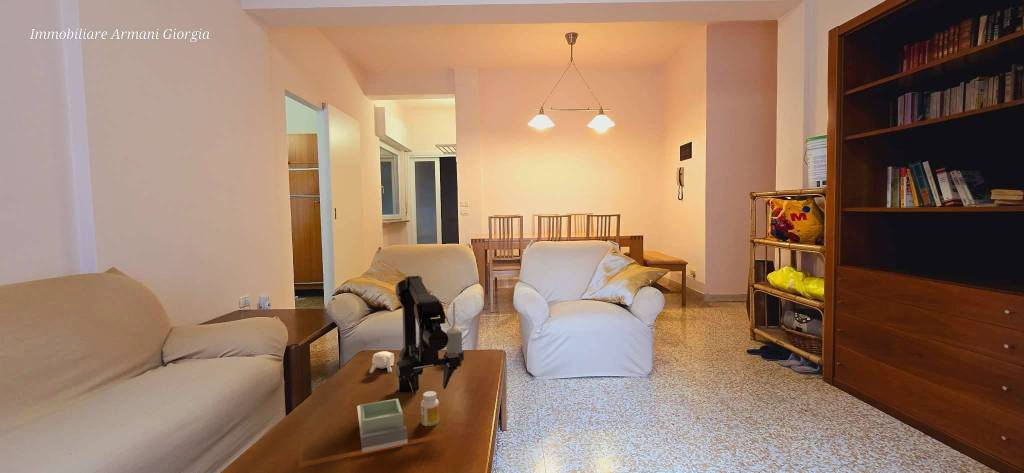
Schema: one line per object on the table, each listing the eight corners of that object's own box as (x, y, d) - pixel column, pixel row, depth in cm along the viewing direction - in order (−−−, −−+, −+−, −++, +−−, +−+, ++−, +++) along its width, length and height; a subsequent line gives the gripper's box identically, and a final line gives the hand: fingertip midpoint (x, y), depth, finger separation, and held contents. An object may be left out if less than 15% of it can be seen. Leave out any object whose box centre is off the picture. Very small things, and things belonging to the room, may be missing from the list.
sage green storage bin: (398, 416, 135) (397, 398, 135) (403, 432, 125) (403, 413, 125) (360, 422, 131) (360, 404, 131) (363, 440, 121) (362, 421, 121)
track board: (394, 402, 148) (394, 390, 147) (407, 443, 122) (407, 429, 121) (357, 408, 143) (356, 396, 143) (362, 452, 117) (361, 438, 117)
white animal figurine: (375, 373, 182) (365, 372, 168) (376, 352, 185) (366, 349, 171) (395, 372, 183) (387, 372, 168) (396, 351, 185) (389, 349, 171)
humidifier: (456, 363, 184) (455, 305, 183) (441, 360, 188) (440, 303, 187) (467, 357, 191) (467, 301, 190) (452, 354, 195) (452, 299, 194)
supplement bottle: (442, 422, 134) (442, 391, 133) (433, 430, 129) (433, 398, 128) (427, 419, 136) (426, 389, 135) (417, 427, 130) (417, 396, 130)
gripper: (450, 329, 142) (450, 376, 143) (391, 337, 134) (392, 387, 135) (461, 339, 132) (462, 389, 133) (399, 348, 124) (400, 401, 125)
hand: (429, 391), depth 132 cm, fingers open, 9 cm apart
